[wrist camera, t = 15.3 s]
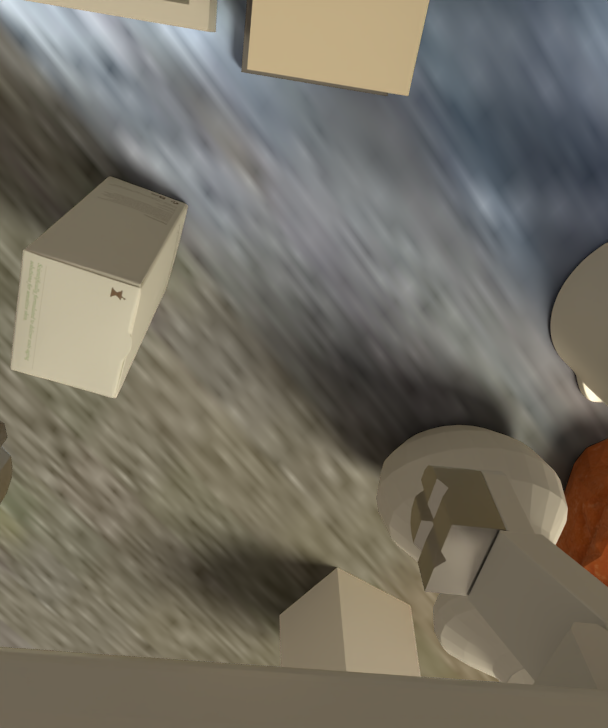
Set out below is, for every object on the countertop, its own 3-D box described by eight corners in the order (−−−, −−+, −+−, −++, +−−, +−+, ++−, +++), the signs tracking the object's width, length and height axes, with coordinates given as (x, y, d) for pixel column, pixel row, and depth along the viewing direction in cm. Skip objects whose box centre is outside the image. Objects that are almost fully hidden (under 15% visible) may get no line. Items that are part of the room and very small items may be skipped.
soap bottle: (366, 495, 58) (419, 846, 33) (371, 407, 52) (441, 755, 27) (523, 492, 58) (696, 841, 33) (546, 404, 52) (781, 748, 27)
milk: (279, 614, 68) (270, 892, 46) (337, 567, 64) (358, 850, 42) (351, 648, 72) (374, 918, 50) (410, 605, 68) (465, 882, 45)
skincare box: (109, 173, 40) (17, 238, 27) (195, 205, 42) (147, 282, 28) (90, 271, 44) (1, 370, 31) (169, 297, 46) (115, 404, 32)
